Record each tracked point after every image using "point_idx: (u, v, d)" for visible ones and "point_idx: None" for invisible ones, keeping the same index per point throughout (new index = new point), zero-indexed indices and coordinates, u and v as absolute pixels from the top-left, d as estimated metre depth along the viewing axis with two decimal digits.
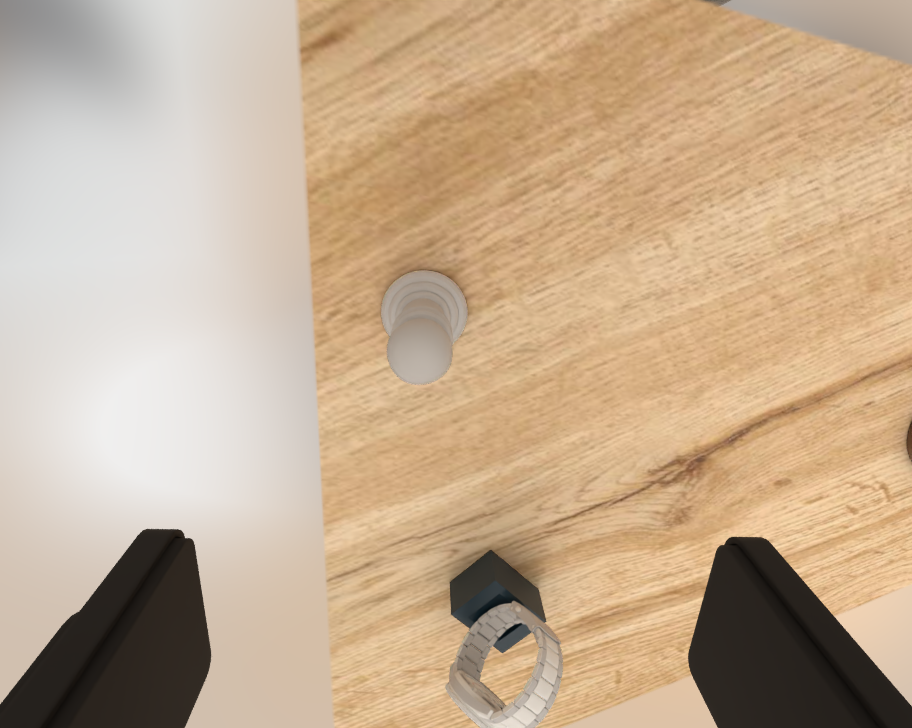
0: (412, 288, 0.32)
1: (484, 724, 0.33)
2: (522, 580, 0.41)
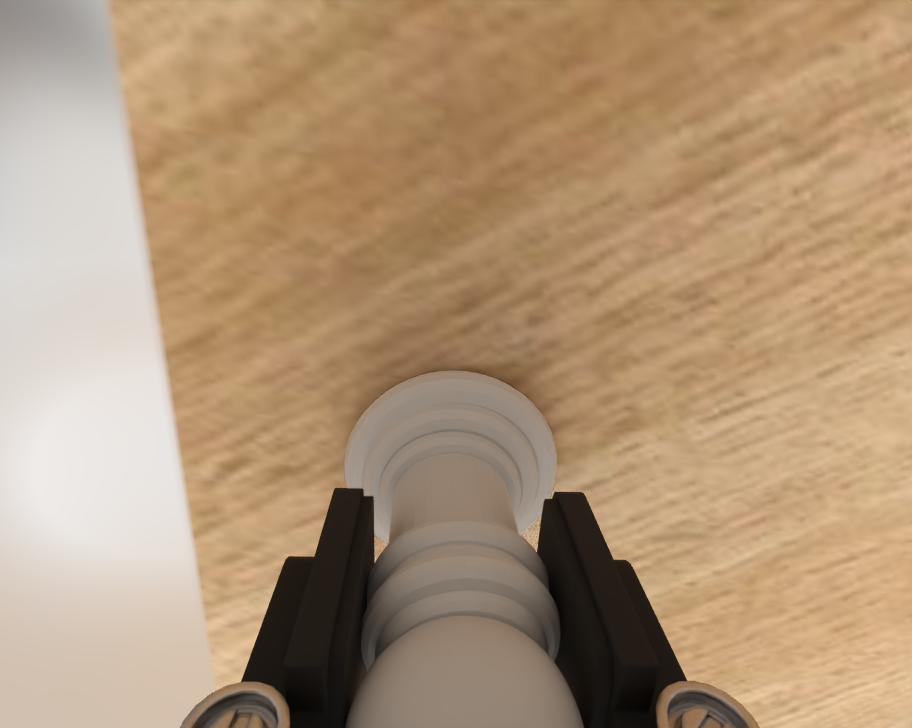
0: (424, 424, 0.12)
1: None
2: None
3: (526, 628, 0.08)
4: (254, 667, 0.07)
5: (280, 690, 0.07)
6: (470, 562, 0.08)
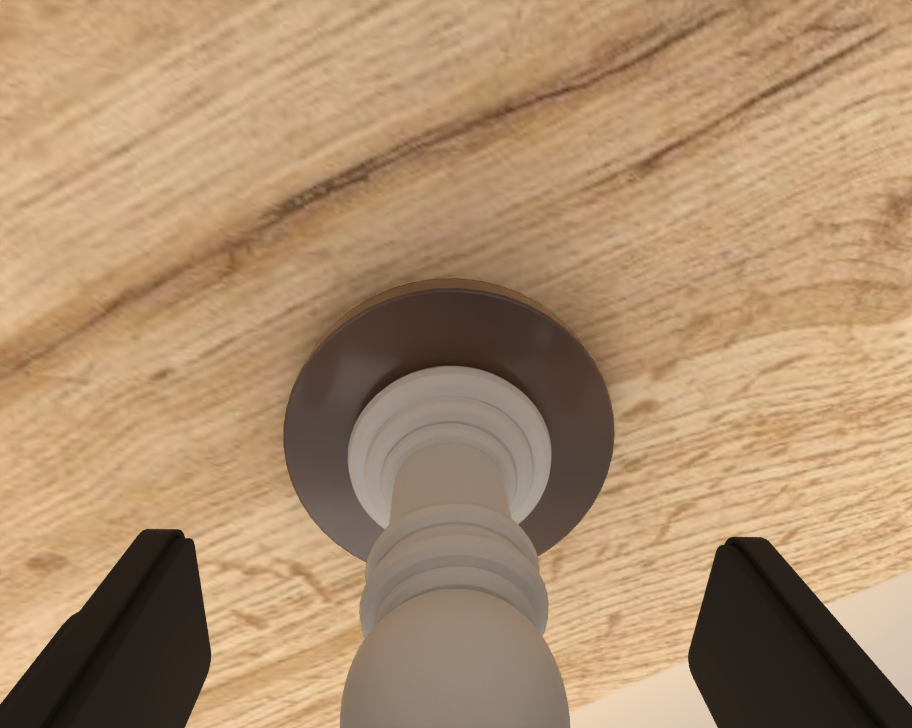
0: (423, 416, 0.13)
1: None
2: None
3: (514, 602, 0.09)
4: None
5: None
6: (462, 540, 0.09)
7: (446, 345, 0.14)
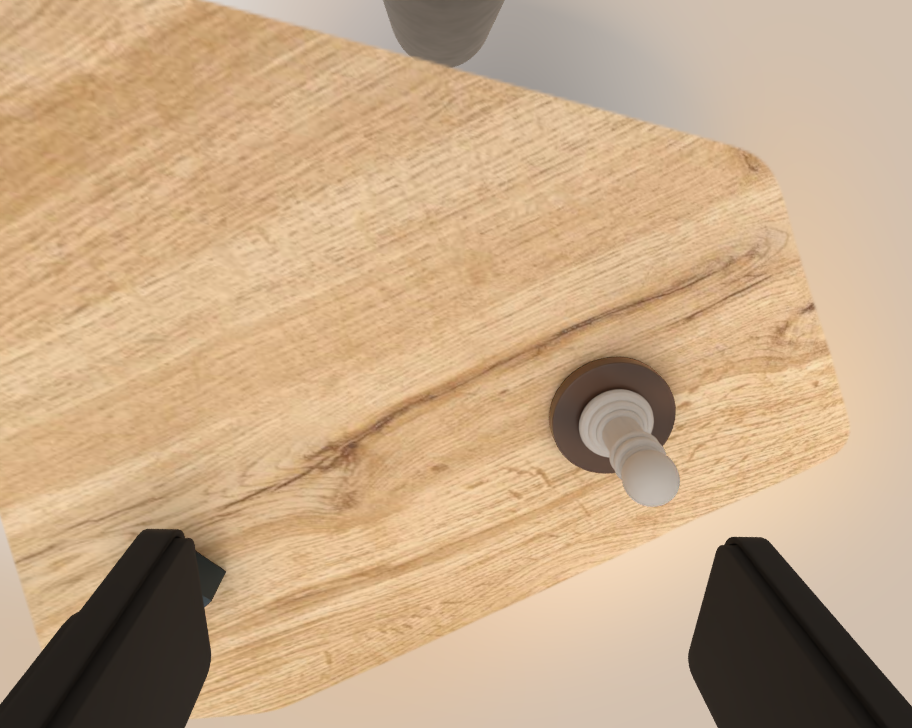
0: (613, 407, 0.37)
1: None
2: (202, 562, 0.43)
3: None
4: None
5: None
6: (645, 439, 0.34)
7: (617, 382, 0.38)
